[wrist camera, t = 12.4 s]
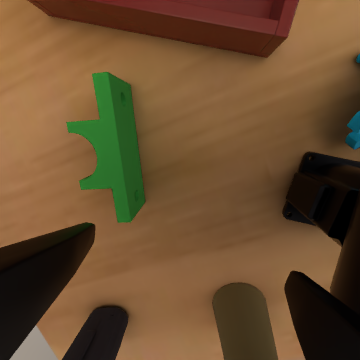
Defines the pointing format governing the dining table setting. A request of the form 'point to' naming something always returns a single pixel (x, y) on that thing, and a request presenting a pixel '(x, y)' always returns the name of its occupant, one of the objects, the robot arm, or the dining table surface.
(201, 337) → the dining table surface
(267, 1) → the open red box
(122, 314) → the two-way radio
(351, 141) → the blue toy dinosaur
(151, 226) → the dining table surface
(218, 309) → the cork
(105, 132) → the pipe clamp
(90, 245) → the robot arm
